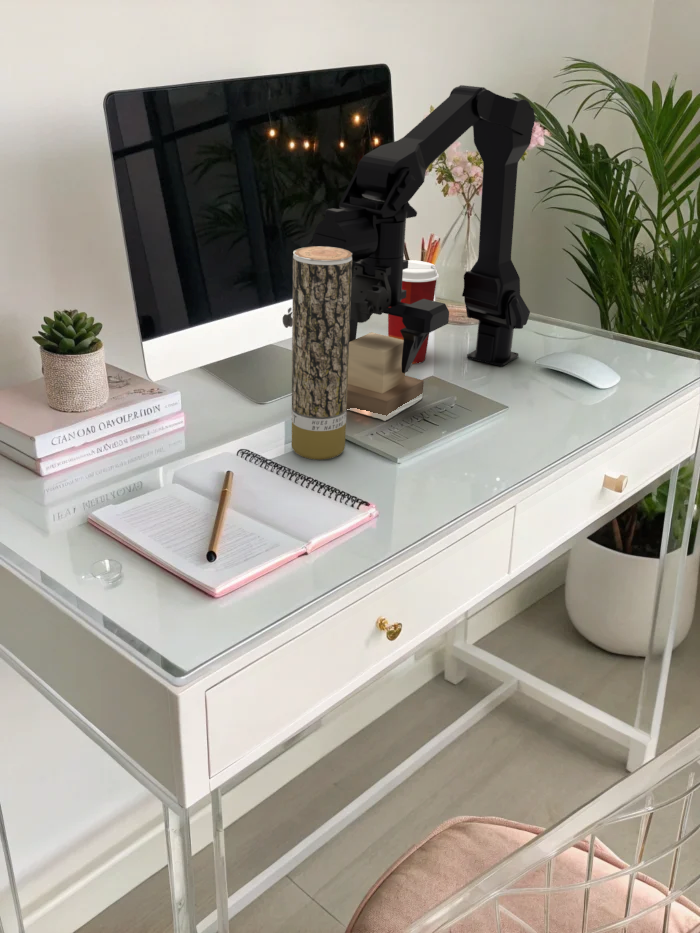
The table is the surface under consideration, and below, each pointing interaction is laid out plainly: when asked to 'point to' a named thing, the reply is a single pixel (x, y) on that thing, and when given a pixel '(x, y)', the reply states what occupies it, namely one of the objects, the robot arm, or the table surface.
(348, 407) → the walnut base
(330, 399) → the paper tube
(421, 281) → the coffee cup
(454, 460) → the table surface
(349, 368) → the oak cube
